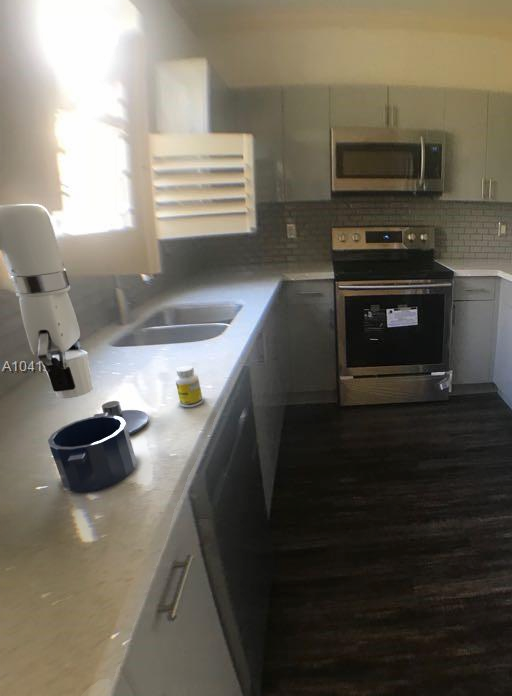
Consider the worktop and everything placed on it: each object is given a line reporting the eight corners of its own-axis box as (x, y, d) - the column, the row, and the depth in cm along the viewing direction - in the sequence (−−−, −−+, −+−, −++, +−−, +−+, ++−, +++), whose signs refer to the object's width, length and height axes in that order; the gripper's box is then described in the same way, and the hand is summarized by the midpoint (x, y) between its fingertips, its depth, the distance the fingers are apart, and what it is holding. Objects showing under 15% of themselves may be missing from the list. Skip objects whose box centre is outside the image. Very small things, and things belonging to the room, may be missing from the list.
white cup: (82, 381, 88) (71, 347, 85) (105, 387, 85) (95, 352, 82) (44, 395, 82) (32, 359, 79) (67, 402, 79) (55, 365, 76)
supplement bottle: (176, 404, 118) (168, 369, 114) (194, 396, 122) (188, 362, 118) (188, 409, 115) (181, 374, 111) (207, 401, 119) (200, 366, 115)
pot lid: (75, 447, 99) (67, 422, 97) (92, 419, 112) (85, 396, 109) (143, 437, 103) (137, 412, 101) (153, 410, 115) (147, 388, 113)
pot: (48, 508, 81) (31, 462, 77) (78, 454, 97) (65, 415, 93) (126, 493, 84) (114, 449, 81) (143, 444, 100) (133, 405, 97)
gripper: (35, 275, 82) (64, 366, 89) (-10, 297, 67) (28, 405, 74) (82, 272, 84) (107, 362, 91) (48, 292, 69) (81, 398, 76)
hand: (71, 380), depth 82 cm, fingers closed on white cup, 6 cm apart
